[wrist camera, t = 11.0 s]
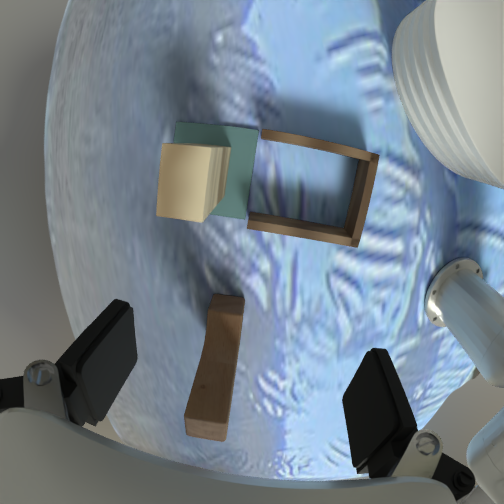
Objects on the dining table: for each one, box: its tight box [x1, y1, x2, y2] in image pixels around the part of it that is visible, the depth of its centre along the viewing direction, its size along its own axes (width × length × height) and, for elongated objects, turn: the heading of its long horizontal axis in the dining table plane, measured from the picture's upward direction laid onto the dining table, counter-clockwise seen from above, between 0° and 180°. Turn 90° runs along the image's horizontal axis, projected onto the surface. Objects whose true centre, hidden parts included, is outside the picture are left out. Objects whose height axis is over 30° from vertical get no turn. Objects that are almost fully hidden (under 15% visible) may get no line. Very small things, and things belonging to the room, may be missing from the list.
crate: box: [247, 129, 379, 248], centre depth 31 cm, size 13×11×4 cm
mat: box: [174, 122, 259, 220], centre depth 32 cm, size 10×11×1 cm
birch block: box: [156, 143, 231, 222], centre depth 27 cm, size 4×6×12 cm, turn 172°
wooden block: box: [184, 294, 245, 442], centre depth 32 cm, size 9×4×18 cm, turn 173°
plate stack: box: [392, 0, 504, 189], centre depth 20 cm, size 28×28×12 cm
